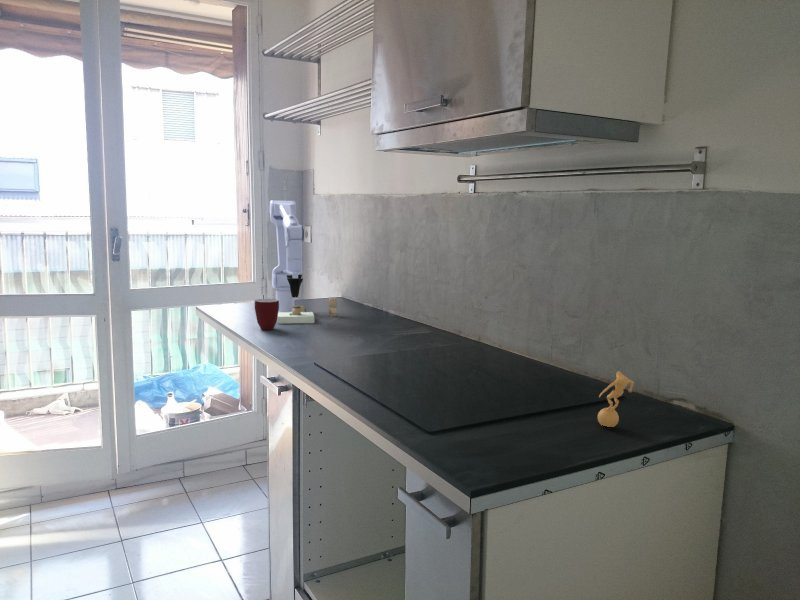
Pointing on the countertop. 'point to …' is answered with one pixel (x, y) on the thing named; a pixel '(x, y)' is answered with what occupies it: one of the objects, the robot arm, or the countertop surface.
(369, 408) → the countertop surface
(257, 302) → the mug
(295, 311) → the dowel medium
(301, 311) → the dowel short
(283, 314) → the board
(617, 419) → the figurine
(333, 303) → the dowel long
